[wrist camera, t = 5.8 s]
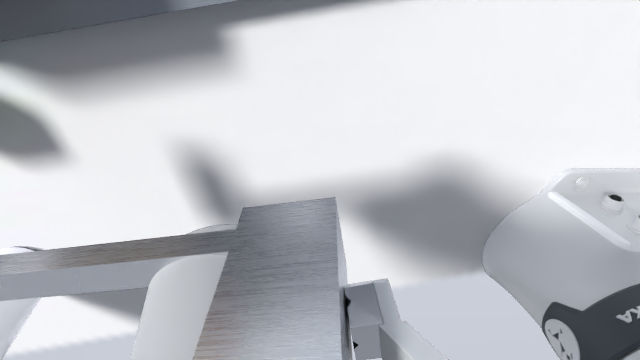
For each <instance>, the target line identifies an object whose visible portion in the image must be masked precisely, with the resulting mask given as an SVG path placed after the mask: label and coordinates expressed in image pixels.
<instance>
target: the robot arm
mask: <svg viewBox="0 0 640 360" xmlns="http://www.w3.org/2000/svg"><path fill="white" fill-rule="evenodd" d="M580 177H582V179H581V181H579V182H578V183H575V181H576V180H577V179H578V178H580ZM482 262H483V266H484V269H485V271H486V273H487V274H488V275H489V276H490V277H491V278H493V279H494V280H495V281H496V282H498V283H499V284H500V285H501V286H502V287H503V288H505V289H506V290H507V291H508V292H509V293H510V294H511V295H512V296H513V297H514V298H515V299H516V300H517V301H518V302H519V303H520V304H521V305H522V306H523V307H524V309H525V310H526V311H527V312H528V313H529V314H530V315H531V316H532V318H533V319H534V320H535V321H536V322H537V323H538V325H539V326H540V327H541V328H542V331H543V333H544V334H545V336H546V338H547V340H548V341H549V343H550V345H551V346H552V348H553V349H554V351H555V352H556V354H557V355H558V357H559V358H560V359H561V360H640V168H572V169H567V170H564V171H562V172H561V173H559V174H558V175H557V176H556V177H555V178H554V179H553V180H551V181H550V182H549V184H548V185H547V186H546V187H545V188H544V189H543V190H542V191H541V192H540V193H539V194H537V195H536V196H535V197H533V198H532V199H530V200H528V201H527V202H525V203H524V204H522V205H521V206H519V207H518V208H516V209H515V210H514V211H512V212H511V213H510V214H509V215H507V216H506V217H505V218H504V219H503V220H502V221H501V222H500V223H499V224H498V225H497V226H496V228H495V229H494V230H493V231H492V233H491V234H490V236H489V238H488V239H487V241H486V244H485V246H484V249H483V254H482ZM344 289H345V296H346V302H347V309H348V315H349V321H350V328H351V334H352V340H353V346H354V351H355V357H356V360H366V359H375V358H382V359H383V360H449V359H448V358H446V357H445V356H444V355H443V354H442V353H441V352H440V351H439V350H438V349H436V348H435V347H434V346H433V345H432V344H431V343H430V342H428V341H427V340H426V339H425V338H424V337H423V336H422V335H421V334H419V332H417V331H416V330H415V329H414V328H413V327H412V326H411V325H410V324H408V323H407V322H406V321H401V320H400V316H399V313H398V310H397V306H396V304H395V300H394V297H393V293H392V290H391V287H390V283H389V281H388V279H381V280H374V281H366V282H360V283H354V284H348V285H344Z"/></svg>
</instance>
